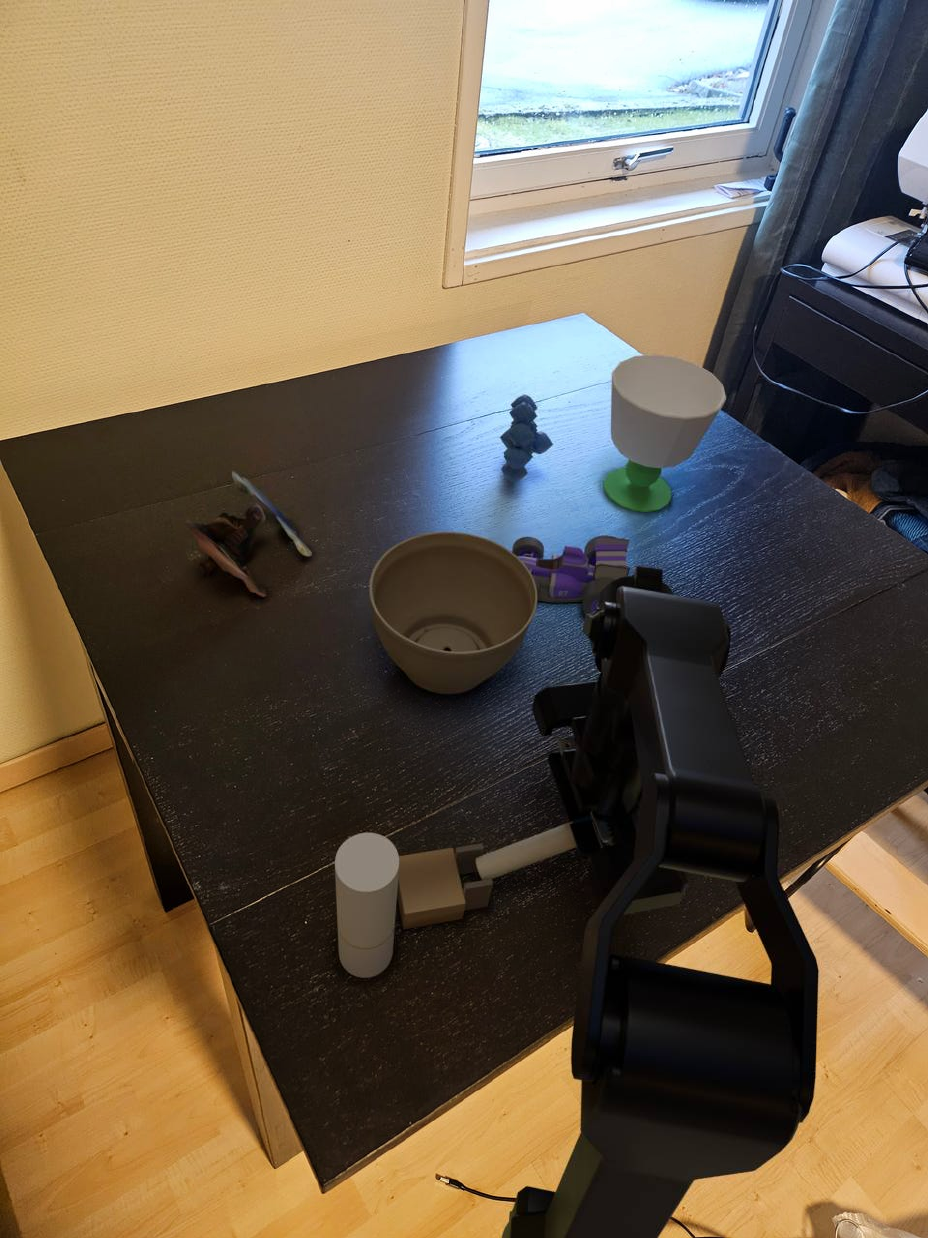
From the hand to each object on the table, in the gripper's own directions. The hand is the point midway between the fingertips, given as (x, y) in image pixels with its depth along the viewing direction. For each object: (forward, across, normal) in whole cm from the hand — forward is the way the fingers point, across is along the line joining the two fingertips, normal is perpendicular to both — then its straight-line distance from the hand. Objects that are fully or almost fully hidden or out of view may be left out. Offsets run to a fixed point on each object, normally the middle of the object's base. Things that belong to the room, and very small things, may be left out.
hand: (583, 842), depth 71 cm
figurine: (+5, +43, +24) cm, 50 cm away
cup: (+5, +50, -25) cm, 56 cm away
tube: (+5, -4, +18) cm, 20 cm away
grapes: (+5, +54, -10) cm, 55 cm away
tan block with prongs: (+5, 0, +12) cm, 13 cm away
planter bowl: (+5, +25, +6) cm, 26 cm away
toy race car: (+5, +34, -9) cm, 36 cm away
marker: (+1, 0, +3) cm, 3 cm away
